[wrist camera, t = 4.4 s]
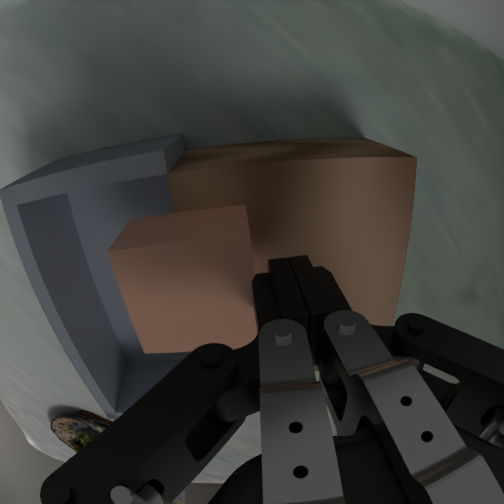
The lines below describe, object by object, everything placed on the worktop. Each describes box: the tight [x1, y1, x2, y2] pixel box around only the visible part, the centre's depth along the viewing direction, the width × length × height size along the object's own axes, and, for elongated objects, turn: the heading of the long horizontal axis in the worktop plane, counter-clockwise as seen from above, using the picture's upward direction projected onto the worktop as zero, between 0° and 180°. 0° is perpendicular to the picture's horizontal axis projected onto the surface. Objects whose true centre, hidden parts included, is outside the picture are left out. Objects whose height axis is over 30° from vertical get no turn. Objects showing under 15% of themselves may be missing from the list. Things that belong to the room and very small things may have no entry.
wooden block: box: [167, 138, 417, 350], centre depth 19 cm, size 11×16×6 cm
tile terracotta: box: [107, 204, 257, 354], centre depth 13 cm, size 5×5×3 cm
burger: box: [51, 410, 112, 453], centre depth 28 cm, size 12×12×8 cm
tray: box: [0, 134, 192, 419], centre depth 18 cm, size 9×18×6 cm, turn 4°
